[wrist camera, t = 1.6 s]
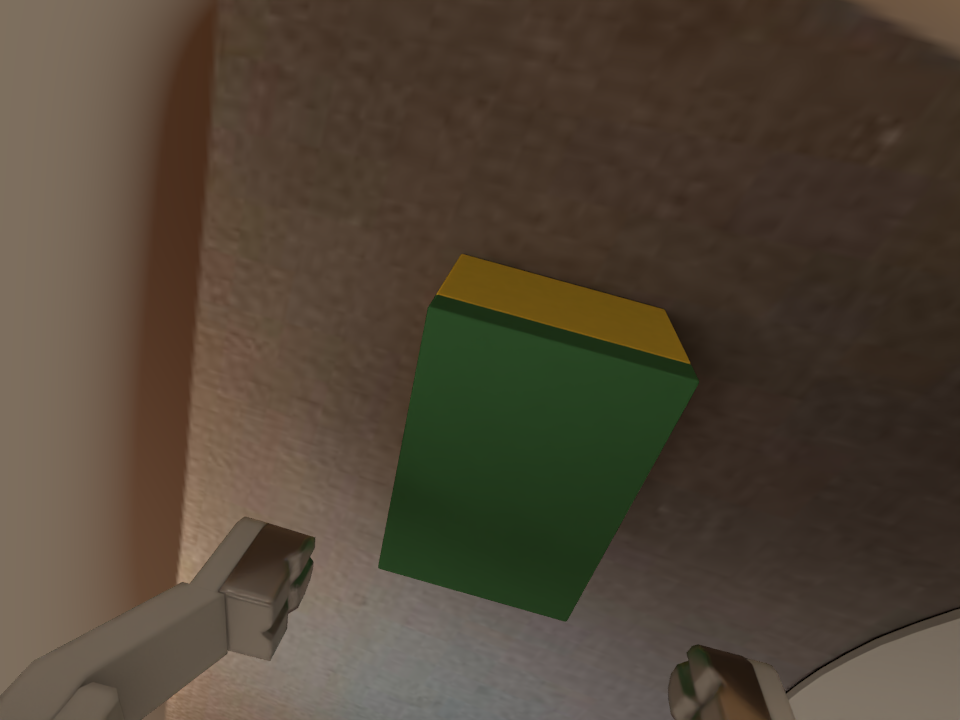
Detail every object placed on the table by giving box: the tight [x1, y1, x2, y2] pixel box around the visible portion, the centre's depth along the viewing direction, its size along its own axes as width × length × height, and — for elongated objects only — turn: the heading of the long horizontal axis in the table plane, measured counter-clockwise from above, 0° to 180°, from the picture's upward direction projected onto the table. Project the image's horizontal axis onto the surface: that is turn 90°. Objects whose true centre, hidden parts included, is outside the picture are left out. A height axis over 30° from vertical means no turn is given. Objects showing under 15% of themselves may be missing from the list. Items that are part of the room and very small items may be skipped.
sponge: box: [378, 254, 699, 621], centre depth 14 cm, size 9×6×4 cm, turn 167°
